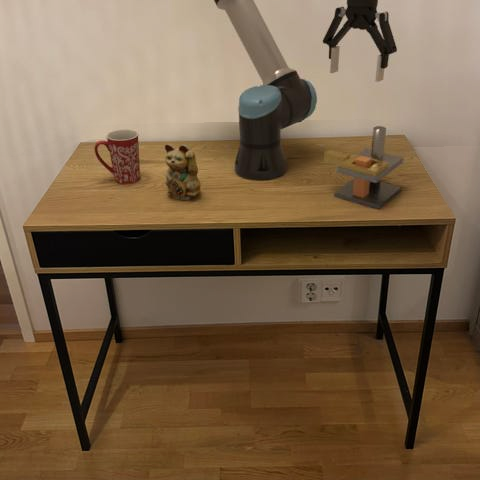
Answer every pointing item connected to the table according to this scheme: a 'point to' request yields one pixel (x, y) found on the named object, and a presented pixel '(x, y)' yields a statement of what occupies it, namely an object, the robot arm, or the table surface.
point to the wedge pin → (359, 184)
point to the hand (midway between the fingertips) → (356, 76)
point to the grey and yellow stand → (368, 172)
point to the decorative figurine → (181, 172)
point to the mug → (122, 155)
